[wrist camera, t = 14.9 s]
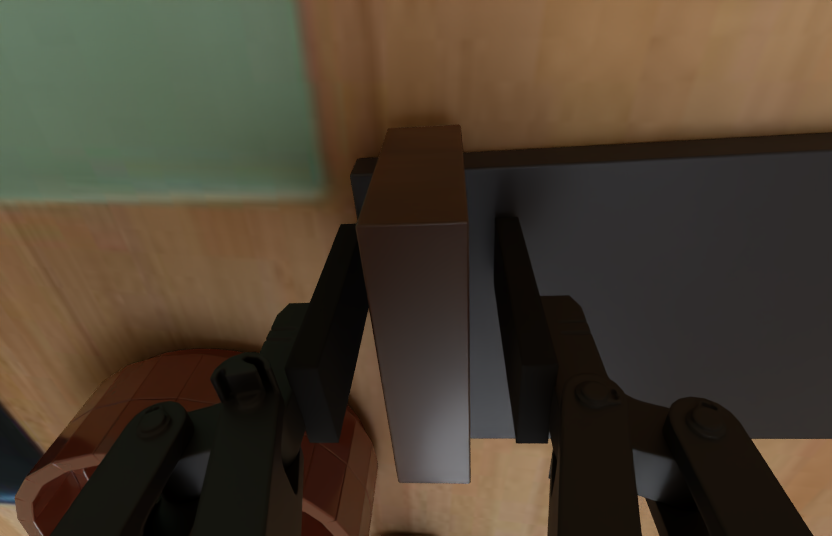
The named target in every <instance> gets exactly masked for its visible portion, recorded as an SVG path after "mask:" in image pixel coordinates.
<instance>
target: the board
mask: <svg viewBox="0 0 832 536" xmlns="http://www.w3.org/2000/svg"><path fill="white" fill-rule="evenodd" d="M463 159H464V171H465V183H466V194H467V206H468V218H469V316H470V438H515V432H514V425H513V418H512V410H511V403H510V396H509V389H508V382H507V375H506V368H505V361H504V354H503V347H502V340H501V333H500V326H499V319H498V312H497V305H496V298H495V291H494V244H495V218H502V217H519V221H520V225H521V228H522V232H523V236H524V239H525V243H526V247H527V250H528V254H529V258H530V261H531V265H532V269H533V272H534V276H535V280H536V283H537V287H538V290H539V294H540V296H556V295H570V296H571V297H572V298H573V299H574V300H575V301H576V302H577V303H578V304H579V305H580V306H581V307H582V310H583V312H584V315H585V318H586V322H587V323H588V325H589V328H590V331H591V334H592V336H593V339H594V341H595V344H596V346H597V349H598V352H599V354H600V357H601V360H602V362H603V365H604V367H605V370H606V373H607V375H608V377H609V379H611V380H612V381H614V382H616V383H617V384H618V386H619V387H620V388H621V389H622V390H623V391H624V393H625V394H626V395H628V396H630V397H632V398H634V399H637V400H640V401H643V402H647V403H651V404H655V405H659V406H663V407H667V408H670V406H671V404H672V403H674V402H675V401H676V400H678V399H679V398H685V397H690V396H691V397H699V398H705V399H708V400H710V401H713V402H716V403H718V404H720V405H721V406H723V407H724V408H726V409H727V410H729V411H730V412H731V413H732V414H733V415H734V416H735V417H736V418H737V419H738V420H739V422H740V423H741V424H742V426H743V427H744V429H745V431H746V432H747V434H748V435H749V437H750V438H751V439H832V133H816V134H797V135H779V136H761V137H743V138H724V139H706V140H688V141H669V142H651V143H633V144H614V145H596V146H578V147H560V148H541V149H523V150H505V151H486V152H468V153H463ZM377 160H378V157H377V158H359V159H357V161H356V163H355V165H354V168H353V170H352V172H351V175H350V179H351V185H352V191H353V196H354V202H355V208H356V214H357V220H358V217H359V214H360V211H361V208H362V205H363V202H364V199H365V196H366V193H367V190H368V187H369V184H370V181H371V178H372V175H373V172H374V169H375V166H376V163H377ZM548 439H551V437H550V432H549V438H548Z"/></svg>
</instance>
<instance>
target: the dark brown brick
mask: <svg viewBox="0 0 832 536" xmlns="http://www.w3.org/2000/svg"><path fill="white" fill-rule="evenodd" d="M356 233H357V239H358V245H359V251H360V257H361V263H362V269H363V275H364V281H365V287H366V292H367V298H368V304H369V310H370V316H371V322H372V328H373V334H374V340H375V346H376V352H377V358H378V364H379V370H380V376H381V382H382V388H383V394H384V399H385V405H386V411H387V417H388V423H389V429H390V435H391V441H392V447H393V453H394V459H395V465H396V471H397V477H398V482H399V483H461V484H469V483H470V482H471V469H470V316H469V218H468V206H467V194H466V183H465V171H464V159H463V147H462V135H461V126H460V125H443V126H425V127H407V128H389V129H388V130H387V133H386V136H385V139H384V142H383V145H382V148H381V151H380V154H379V157H378V160H377V163H376V166H375V169H374V172H373V175H372V178H371V181H370V184H369V187H368V190H367V193H366V196H365V199H364V202H363V205H362V208H361V211H360V214H359V217H358V220H357V223H356Z"/></svg>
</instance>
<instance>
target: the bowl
mask: <svg viewBox="0 0 832 536" xmlns="http://www.w3.org/2000/svg"><path fill="white" fill-rule="evenodd" d="M241 353H245V352H240V351H234V350H224V349H206V348H196V349H185V350H177V351H172V352H167V353H163V354H160V355H157V356H154V357H151V358H149V359H147V360H144V361H141V362H137V363H133V364H130V365H128V366H126V367H124V368H123V369H121V370H119V371H118V372H116V373H115V374H113V375H112V376H110V377H109V378H107V379H106V380H104V381H103V382H102V383H101V384H100V386H99V387H98V388H97V389H96V390H95V392H94V393H93V394H92V395H91V397H90V398H89V399H88V400H87V402H86V403H85V404H84V405H83V407H82V408H81V409H80V410H79V412H78V413H77V414H76V415H75V417H74V418H73V419H72V420H71V422H70V423H69V424H68V426H67V427H66V428H65V429H64V430H63V432H62V433H61V434H60V435H59V436H58V438H57V439H56V440H55V441H54V443H53V444H52V445H51V446H50V448H49V449H48V450H47V451H46V453H45V454H44V455H43V456H42V458H41V459H40V460H39V461H38V463H37V464H36V465H35V466H34V468H33V469H32V470H31V471H30V473H29V474H28V475H27V476H26V478H25V479H24V481H23V483H22V485H21V486H20V488H19V490H18V492H17V494H16V495H15V504H16V511H17V518H18V520H19V521H20V523H21V524H22V526H23V527H24V529H25V530H26V532H27V533H28V534H29V536H50V535H51V533H52V532H53V530H54V529H55V527H56V526H57V525H58V523H59V522H60V520H61V519H62V517H63V516H64V514H65V513H66V512H67V510H68V509H69V507H70V506H71V504H72V503H73V501H74V500H75V499H76V497H77V496H78V494H79V493H80V491H81V490H82V489H83V487H84V486H85V484H86V483H87V481H88V480H89V478H90V477H91V476H92V474H93V473H94V471H95V470H96V468H97V467H98V466H99V464H100V463H101V461H102V460H103V458H104V457H105V455H106V454H107V453H108V451H109V450H110V448H111V447H112V445H113V444H114V443H115V441H116V440H117V438H118V437H119V435H120V434H121V432H122V431H123V430H124V428H125V427H126V425H127V424H128V423H129V422H130V421H131V420H132V419H133V417H134V416H135V415H137V414H138V413H139V412H141V411H142V410H144V409H145V408H147V407H149V406H152V405H154V404H156V403H159V402H166V401H173V402H178V403H180V404H181V405H182V406H183V407H184V408H185V410H186V411H187V412H190V411H193V410H197V409H201V408H204V407H208V406H212V405H215V404H217V403H220V402H221V401H220V399H219V397H218V395H217V393H216V391H215V389H214V387H213V385H212V383H211V381H210V377H211V375H212V373H213V371H214V370H215V369H216V368H217V367H218V366H219V365H220V364H221V363H222V362H223V361H225V360H227V359H229V358H230V357H232V356H235V355H238V354H241ZM301 448H302V451H303V456H304V473H303V499H302V526H301V536H369V531H370V523H371V516H372V508H373V500H374V493H375V485H376V478H377V470H378V463H377V459H376V455H375V451H374V447H373V444H372V441H371V440H370V438H369V437H368V435H367V434H366V432H365V429H364V427H363V425H362V423H361V421H360V420H359V418H358V416H357V415H356V414H355V412H354V411H353V410H352V409H351V407H350V406H349V405H348V404H347V407H346V412H345V416H344V421H343V426H342V430H341V435H340V439H339V443H310V442H309V439H308V437H307V434H306V431H305V432H304V436H303V439H302V442H301Z"/></svg>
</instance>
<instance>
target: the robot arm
mask: <svg viewBox="0 0 832 536" xmlns="http://www.w3.org/2000/svg"><path fill="white" fill-rule="evenodd" d="M494 291H495V298H496V305H497V312H498V319H499V326H500V333H501V340H502V347H503V354H504V361H505V368H506V375H507V382H508V389H509V396H510V403H511V410H512V418H513V425H514V432H515V439H516V443H548V438H549V432H550V437H551V441H552V446H553V452H552V459H551V465H550V472H549V479H550V496H549V516H548V536H642V533H641V524H640V515H639V505H638V496H637V495H639V496H642V497H645V499H646V501H647V504H648V507H649V509H650V512H651V514H652V517H653V520H654V522H655V525H656V528H657V530H658V533H659V536H813V534H812V533H811V531H810V530H809V528H808V527H807V525H806V524H805V522H804V521H803V519H802V517H801V516H800V514H799V513H798V511H797V510H796V508H795V507H794V505H793V503H792V502H791V500H790V499H789V497H788V496H787V494H786V493H785V491H784V489H783V488H782V486H781V485H780V483H779V482H778V480H777V479H776V477H775V476H774V474H773V472H772V471H771V469H770V468H769V466H768V465H767V463H766V462H765V460H764V458H763V457H762V455H761V454H760V452H759V451H758V449H757V448H756V446H755V444H754V443H753V441H752V440H751V438H750V437H749V435H748V434H747V432H746V431H745V429H744V427H743V426H742V424H741V423H740V422H739V420H738V419H737V418H736V417H735V416H734V415H733V414H732V413H731V412H730V411H729V410H727V409H726V408H724V407H723V406H721V405H720V404H718V403H716V402H713V401H710V400H708V399H705V398H699V397H691V396H690V397H685V398H679V399H678V400H676V401H675V402H674V403H672V404H671V406H670V408H667V407H663V406H659V405H655V404H651V403H647V402H643V401H640V400H637V399H634V398H632V397H630V396H628V395H626V394H625V393H624V391H623V390H622V389H621V388H620V387H619V386H618V384H617V383H616V382H614V381H612V380H611V379H609V377H608V375H607V373H606V370H605V367H604V365H603V362H602V360H601V357H600V354H599V352H598V349H597V346H596V344H595V341H594V339H593V336H592V334H591V331H590V328H589V325H588V323H587V322H586V318H585V315H584V312H583V310H582V307H581V306H580V305H579V304H578V303H577V302H576V301H575V300H574V299H573V298H572V297H571V296H570V295H556V296H540V294H539V290H538V287H537V283H536V280H535V276H534V272H533V269H532V265H531V261H530V258H529V254H528V250H527V247H526V243H525V239H524V236H523V232H522V228H521V225H520V221H519V217H502V218H495V244H494ZM368 308H369V304H368V298H367V292H366V287H365V281H364V275H363V269H362V263H361V257H360V251H359V245H358V239H357V233H356V224H341V225H340V227H339V230H338V232H337V235H336V237H335V240H334V242H333V245H332V248H331V250H330V253H329V255H328V258H327V260H326V263H325V265H324V268H323V270H322V273H321V276H320V278H319V281H318V283H317V286H316V288H315V291H314V293H313V296H312V299H311V301H310V303H289V304H288V305H287V306H286V307H285V308H284V309H283V310H282V311H281V312H280V313H279V314H278V315H277V317H276V319H275V321H274V323H273V325H272V327H271V331H270V332H269V334H268V336H267V338H266V341H265V342H264V344H263V347H262V349H261V351H260V353H256V352H247V353H241V354H238V355H235V356H232V357H230V358H229V359H227V360H225V361H223V362H222V363H221V364H220V365H219V366H218V367H217V368H216V369H215V370H214V371H213V373H212V375H211V377H210V381H211V383H212V385H213V387H214V389H215V391H216V393H217V395H218V397H219V399H220V401H221V402H220V403H217V404H215V405H212V406H208V407H204V408H201V409H197V410H193V411H190V412H187V411H186V410H185V408H184V407H183V406H182V405H181V404H180V403H178V402H173V401H166V402H159V403H156V404H154V405H152V406H149V407H147V408H145V409H144V410H142V411H141V412H139V413H138V414H137V415H135V416H134V417H133V419H132V420H131V421H130V422H129V423H128V424H127V425H126V427H125V428H124V430H123V431H122V432H121V434H120V435H119V437H118V438H117V440H116V441H115V443H114V444H113V445H112V447H111V448H110V450H109V451H108V453H107V454H106V455H105V457H104V458H103V460H102V461H101V463H100V464H99V466H98V467H97V468H96V470H95V471H94V473H93V474H92V476H91V477H90V478H89V480H88V481H87V483H86V484H85V486H84V487H83V489H82V490H81V491H80V493H79V494H78V496H77V497H76V499H75V500H74V501H73V503H72V504H71V506H70V507H69V509H68V510H67V512H66V513H65V514H64V516H63V517H62V519H61V520H60V522H59V523H58V525H57V526H56V527H55V529H54V530H53V532H52V533H51V535H50V536H301V526H302V499H303V473H304V456H303V451H302V448H301V442H302V439H303V436H304V432H305V431H306V434H307V437H308V439H309V442H310V443H339V439H340V435H341V430H342V426H343V421H344V416H345V412H346V407H347V403H348V398H349V394H350V389H351V385H352V380H353V376H354V371H355V367H356V362H357V358H358V353H359V349H360V344H361V340H362V335H363V331H364V326H365V321H366V317H367V312H368Z"/></svg>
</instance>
